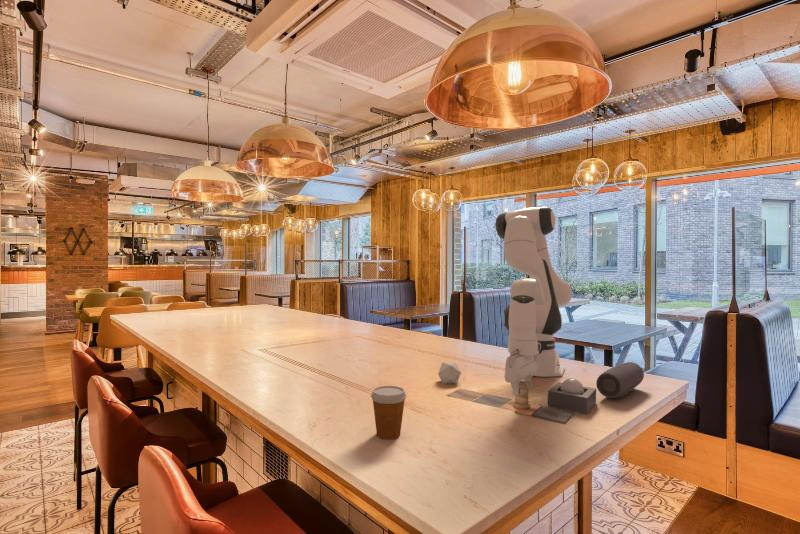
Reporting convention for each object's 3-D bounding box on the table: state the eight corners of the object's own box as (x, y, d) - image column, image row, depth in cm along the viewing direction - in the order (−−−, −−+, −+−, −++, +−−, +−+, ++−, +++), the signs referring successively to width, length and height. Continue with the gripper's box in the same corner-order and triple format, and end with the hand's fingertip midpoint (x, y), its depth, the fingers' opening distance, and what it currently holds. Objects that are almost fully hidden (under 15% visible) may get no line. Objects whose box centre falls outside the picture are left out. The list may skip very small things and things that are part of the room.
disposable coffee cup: (370, 428, 122) (370, 385, 122) (404, 427, 123) (404, 384, 123) (371, 442, 113) (371, 396, 113) (407, 441, 114) (408, 395, 113)
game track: (459, 389, 158) (459, 388, 158) (574, 413, 135) (574, 412, 135) (445, 396, 150) (445, 395, 150) (565, 423, 127) (565, 421, 127)
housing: (558, 396, 151) (558, 382, 151) (596, 403, 144) (596, 388, 144) (547, 406, 142) (547, 390, 142) (587, 414, 135) (587, 398, 134)
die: (454, 389, 160) (467, 367, 163) (434, 377, 162) (447, 354, 165) (451, 391, 168) (463, 369, 171) (432, 379, 170) (444, 357, 172)
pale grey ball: (563, 394, 148) (564, 374, 148) (586, 398, 144) (586, 378, 143) (557, 400, 142) (557, 379, 142) (580, 404, 138) (581, 383, 138)
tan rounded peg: (517, 401, 143) (517, 377, 143) (532, 405, 140) (533, 381, 140) (510, 406, 139) (511, 381, 139) (526, 410, 136) (527, 385, 136)
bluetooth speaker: (618, 384, 166) (618, 358, 166) (645, 390, 159) (645, 362, 159) (593, 398, 150) (594, 369, 150) (622, 404, 144) (623, 374, 143)
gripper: (519, 354, 129) (519, 401, 129) (542, 343, 145) (542, 385, 146) (499, 351, 133) (499, 397, 133) (524, 341, 149) (523, 381, 149)
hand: (521, 390), depth 139 cm, fingers open, 8 cm apart
